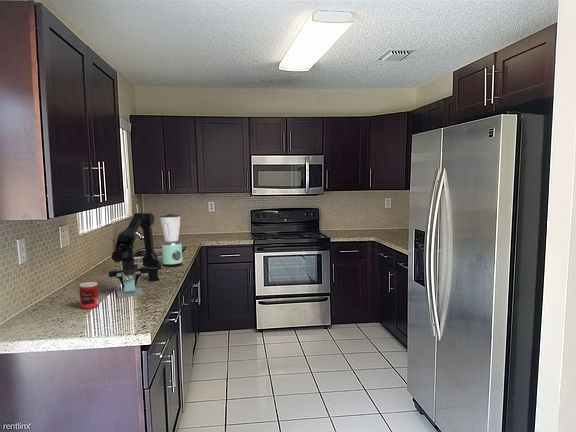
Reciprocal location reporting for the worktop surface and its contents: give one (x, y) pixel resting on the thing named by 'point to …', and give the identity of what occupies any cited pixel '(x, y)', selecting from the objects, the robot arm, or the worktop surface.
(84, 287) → the canned food
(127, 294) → the pad
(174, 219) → the blender
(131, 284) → the block
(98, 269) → the worktop surface
